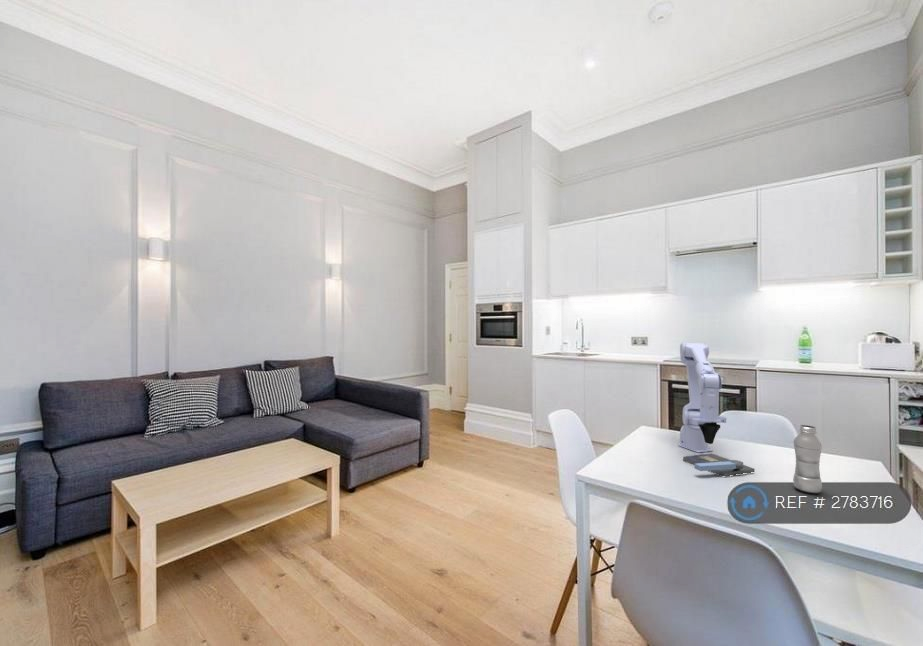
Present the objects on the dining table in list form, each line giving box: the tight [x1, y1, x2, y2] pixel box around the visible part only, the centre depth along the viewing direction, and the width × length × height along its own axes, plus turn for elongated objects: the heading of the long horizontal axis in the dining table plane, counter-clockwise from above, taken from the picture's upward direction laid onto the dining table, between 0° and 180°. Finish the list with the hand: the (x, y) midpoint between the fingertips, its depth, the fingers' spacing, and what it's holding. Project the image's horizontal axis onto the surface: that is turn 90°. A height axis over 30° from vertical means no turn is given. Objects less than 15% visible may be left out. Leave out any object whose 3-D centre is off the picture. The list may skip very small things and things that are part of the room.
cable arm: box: [694, 459, 744, 472], centre depth 129 cm, size 17×4×2 cm, turn 100°
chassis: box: [682, 453, 755, 477], centre depth 137 cm, size 16×14×2 cm
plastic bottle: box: [792, 424, 823, 494], centre depth 117 cm, size 6×7×20 cm
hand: (708, 443), depth 140 cm, fingers closed
